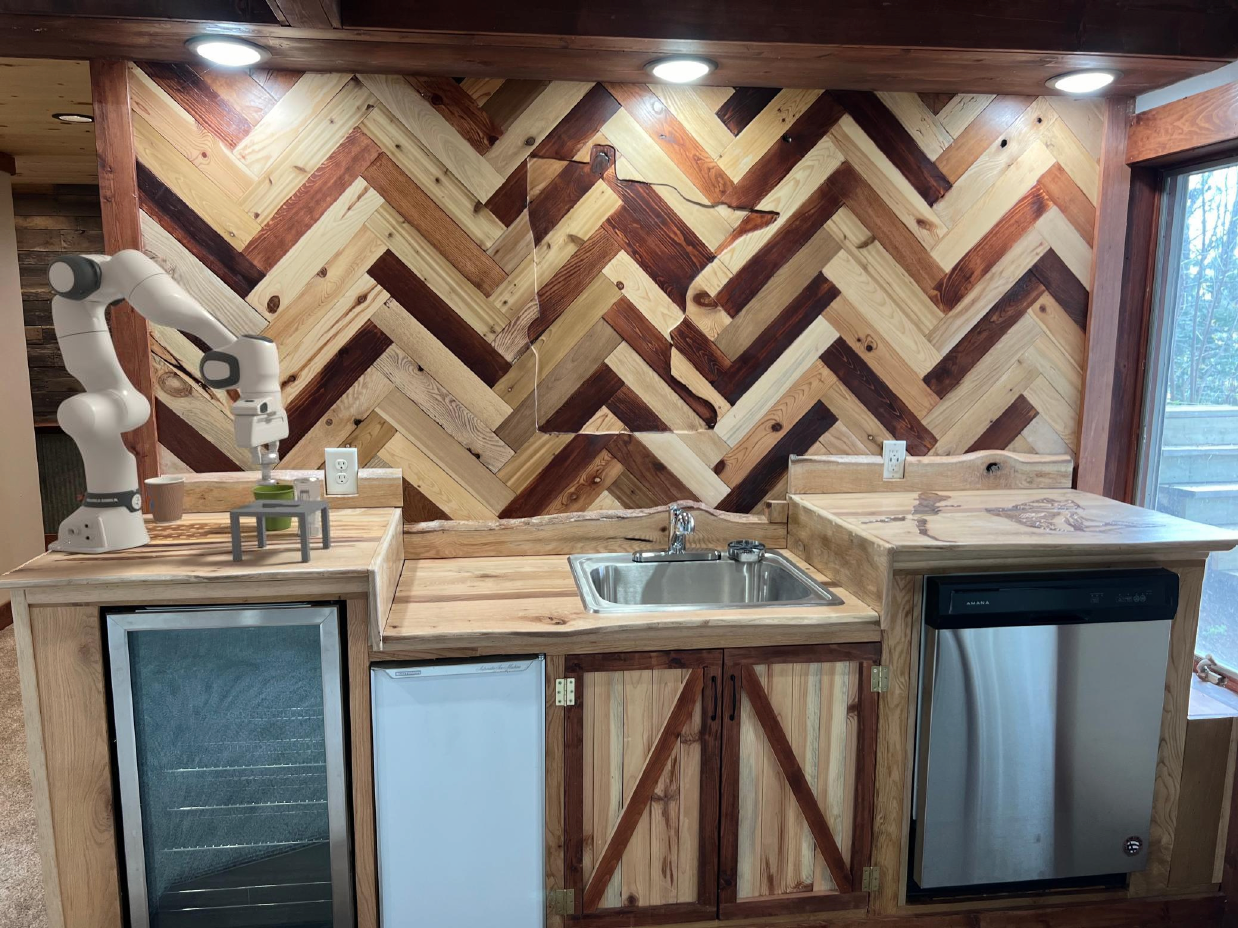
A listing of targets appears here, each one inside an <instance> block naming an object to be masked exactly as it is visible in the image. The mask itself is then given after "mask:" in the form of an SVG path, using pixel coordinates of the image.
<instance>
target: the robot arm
mask: <svg viewBox="0 0 1238 928" xmlns="http://www.w3.org/2000/svg"><path fill="white" fill-rule="evenodd" d="M46 278H47V282H48V285H49V287H50V289H51V290H52V291H53V293H55V294H56V295H55V296H54V297H53V299H52V301H51V309H52V310H51V313H52V319H53V327H54V331H55V335H56V338H57V342H58V345H59V349H60V353H61V357H62V359H63V363H64V366H65V369H66V370H67V372H68V373H69V374H70V375H72V376H73V377H74V378H76V379H77V380H78V381H79V383H81V385H82V387H83V388H84V389H85V391H86V392H81V393H78V394H75V395H73V396H71V397H69V398H66V399H64V400H63V401H62V402H61V403H60V405H59V407H58V408H57V409H58V410H57V413H56V417H57V418H56V419H57V422H58V424H59V426H60V428H61V429H62V430H63V431H64V432H65V433H66V434H67V435H69V436H70V437H71V438H72V439H73V441H74V443H76V445H77V448H78V449H79V452H80V454H81V457H82V460H83V465H84V470H85V471H84V473H85V478H86V479H85V481H86V488H87V490H86V491H85V492H84V493H82V494H78V495H76V497H78V498H77V501H80V500H82V502H81V506H80V507H79V508H78V509H77V510H76V511H74V512H73V513H71V515H68V517H66V518H65V519H64V520H62V522H61V523H60V524H59V527H58V534H57V537H58V538H57V540H55V541H53V542H51V543H50V544H48V546H47V550H48V551H58V552H70V553H71V552H72V553H83V554H84V553H85V554H100V553H105V552H112V551H118V550H124V549H125V550H126V549H130V548H135V547H141V546H143V545H146V544H148V543H150V542H151V537H150V536H149V533H148V530H147V527H146V525H145V520H144V517H143V511H142V505H143V503H142V500H143V498H142V491H141V487H140V486H139V479H138V478H139V477H138V470H137V469H138V467H137V459H136V456H135V455H134V454H133V453H132V452H130V451H129V450H128V448H127V447H126V445H125V443H124V441H123V439H122V434H121V433H126V432H131V431H134V430H136V429H137V428H139V427H141V426H143V425H145V424H146V423H147V421H149V418H150V415H151V406H150V402H149V401H148V399H147V397H146V396H145V395H144V394H142V393H141V392H139V391H138V390H137V389H136V388H135V386H133V384H132V382H131V381H130V380H129V379H128V377H127V375H126V373H125V372H124V370H123V368H122V366H121V364H120V362H119V359H118V356H117V353H116V350H115V347H114V344H113V340H112V337H111V334H110V330H109V327H108V324H107V321H106V317H105V316H106V315H105V310H106V308H107V306H110V307H118V306H119V305H121V304H122V303H124V302H125V301H127V302H128V303H129V304H130V306H132V308H133V309H134V310H135V311H136V312H137V313H138V314H139V315H141V316H142V317H143V318H145V320H148V321H149V322H150V323H152V324H154V325H157V326H161V327H166V328H170V329H174V330H179V331H183V332H185V333H186V332H187V333H189V334H191V335H194V336H195V337H198V338H199V339H201V340H202V341H203V342H204V343H206V345H208V346H209V347H210V349H212V350H210V351H207V352H205V353H204V354H203V356H202V357H201V359H200V361H199V366H198V367H199V369H198V371H199V375H200V378H201V380H202V381H203V382H204V384H205V385H206V386H207V387H209V388H211V389H213V390H221V391H225V390H237V389H239V391H240V397H239V398H238V399H237V400H236V402H234V403H233V404H232V405H231V408H230V409H231V414H232V415H234V418H233V432H234V440H235V441H234V442H235V444H236V445H237V447H238V448H242V449H246V448H247V449H248V450H249V454H250V456H251V455H252V457H253V464H256V465H255V466H260V465H259V464H262V463H263V456H261V454H260V452H261V451H260V450H261V449H262V448H261V446H262V445H265V444H267V445H268V451H274V452H278V449H279V446H280V441H281V440H284V439H286V438H288V436H289V433H290V431H289V423H288V415H287V412H286V409H284V408H283V407H284V406H283V404H282V389H281V386H280V383H279V380H280V379H279V377H280V372H281V371H280V360H279V359H280V358H279V354H278V353H279V351H278V348H277V344H276V343H275V341H274V339H272V338H270V337H268V336H265V335H261V334H260V335H259V334H253V333H252V334H250V333H249V334H241V335H240V336H238V335H237V334H236V333H234V332H233V331H232V330H231V329H230V328H229V327H228V326H226V324H224V323H223V321H221V320H220V319H219V318H217V317H216V316H215V315H214V314H213V313H212V312H211V311H209V309H206V307H204V306H203V305H202V304H201V303H199V301H197V300H196V299H194V298H193V297H192V296H191V295H190V294H189V293H188V292H186V291H185V290H184V289H183V288H182V287H181V286H180V285H179V284H178V283H177V282H176V281H175V280H174V278H172V277H171V276H170V275H169V274H168V272H166V271H165V270H164V269H163V268H162V267H160V265H158V264H157V263H156V262H155V261H153V260H152V259H151V258H150V257H148V256H147V255H146V254H144V253H143V252H141V251H139V250H138V249H137V250H136V249H133V248H131V249H130V248H129V249H123V250H120V251H118V252H116V253H115V254H114V255H107V254H98V253H91V254H75V253H73V254H72V253H68V254H63V255H60V256H57V257H55V258H53V259H52V260H51V261H50V263H49V264H48V267H47V271H46ZM253 464H252V465H253ZM69 542H70V543H69ZM58 547H60V548H59V549H58Z"/></svg>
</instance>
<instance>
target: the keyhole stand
mask: <svg viewBox="0 0 1238 928" xmlns="http://www.w3.org/2000/svg"><path fill="white" fill-rule="evenodd" d="M319 510H320V522H321V536H322V537H321V541H322V550H329V549H331V548H332V543H331V542H332V541H331V539H332V538H331V522H330V521H331V519H330V504H329V500H326V499H325V500H322V499H321V500H254V501H251V502H248V503H247V504H244V505H241V506H239V507H236V508H234V509H231V510H230V511H229V521H230V522H229V523H230V537H231V551H232V552H231V553H232V562H241V561H243V547H242V533H241V523H240V522H241V520H240V518H244V517H245V518H247V517H248V518H249V517H250V518H255V523H256V538H257V548H258V547H265V548H266V546H267V530H266V528H265V517H292V518H297V517H299V525H300V537H299V539H300V554H301V557H300V558H301V563H309V562H311V545H310V544H311V543H310V542H311V541H310V537H309V524H308V516H309V515H311V514H313V513H315V512H317V511H319ZM330 547H331V548H330Z"/></svg>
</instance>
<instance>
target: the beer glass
mask: <svg viewBox="0 0 1238 928" xmlns="http://www.w3.org/2000/svg"><path fill="white" fill-rule="evenodd" d="M292 485H293V500H322V490H321V483H320V478H319V477H316V476H315V477H314V476H306V477H297V478H294V479H292ZM320 514H321V510H319V511H317V512H315V513H313V514H311V515H309V516H308V524H309V538H313V536H314V537H317V536H320V535H322V528H321V526H320ZM296 518H297V533H296V535H297V537H299V536H300V525H299V517H296Z"/></svg>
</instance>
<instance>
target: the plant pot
mask: <svg viewBox="0 0 1238 928" xmlns="http://www.w3.org/2000/svg"><path fill="white" fill-rule="evenodd" d="M250 491H251V492H252V493H253V497H254V499H255V500H254V501H256V500H293V484H285V483H282V484H281V483H280V484H279V483H277V484H276V485H272V486H254V487H252V488H251V489H250ZM292 519H293V517H265V528H266V531H269V530H271V531H274V530H277V531H283V530H287V528H288V529H289V528H291V526H292Z"/></svg>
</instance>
